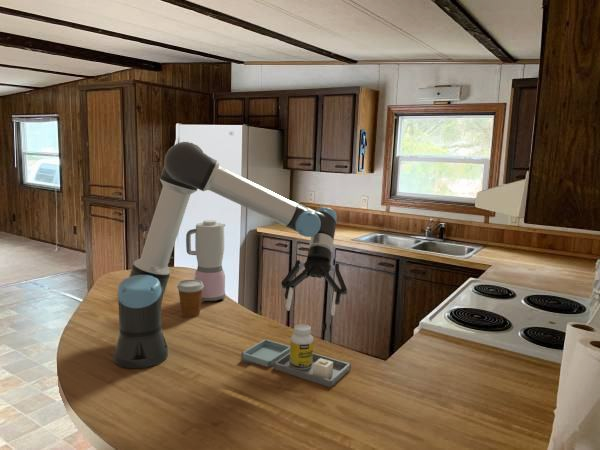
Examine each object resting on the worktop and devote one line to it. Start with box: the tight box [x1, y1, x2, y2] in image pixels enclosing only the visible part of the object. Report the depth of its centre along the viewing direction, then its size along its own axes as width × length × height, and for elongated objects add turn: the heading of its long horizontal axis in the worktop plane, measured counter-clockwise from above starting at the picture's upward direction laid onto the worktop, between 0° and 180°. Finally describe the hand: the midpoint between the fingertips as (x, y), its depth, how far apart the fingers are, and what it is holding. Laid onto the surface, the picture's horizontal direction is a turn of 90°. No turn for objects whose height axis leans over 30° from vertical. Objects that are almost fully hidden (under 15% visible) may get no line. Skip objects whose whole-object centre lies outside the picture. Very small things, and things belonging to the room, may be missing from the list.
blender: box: [185, 219, 226, 304], centre depth 190 cm, size 16×12×32 cm
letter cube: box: [313, 358, 333, 379], centre depth 131 cm, size 4×4×4 cm
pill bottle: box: [289, 323, 314, 370], centre depth 136 cm, size 6×6×12 cm
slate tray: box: [240, 338, 290, 368], centre depth 143 cm, size 12×10×2 cm
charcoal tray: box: [273, 352, 352, 388], centre depth 135 cm, size 12×18×2 cm
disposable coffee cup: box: [176, 279, 204, 318], centre depth 175 cm, size 10×10×12 cm
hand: (309, 311), depth 141 cm, fingers open, 13 cm apart
